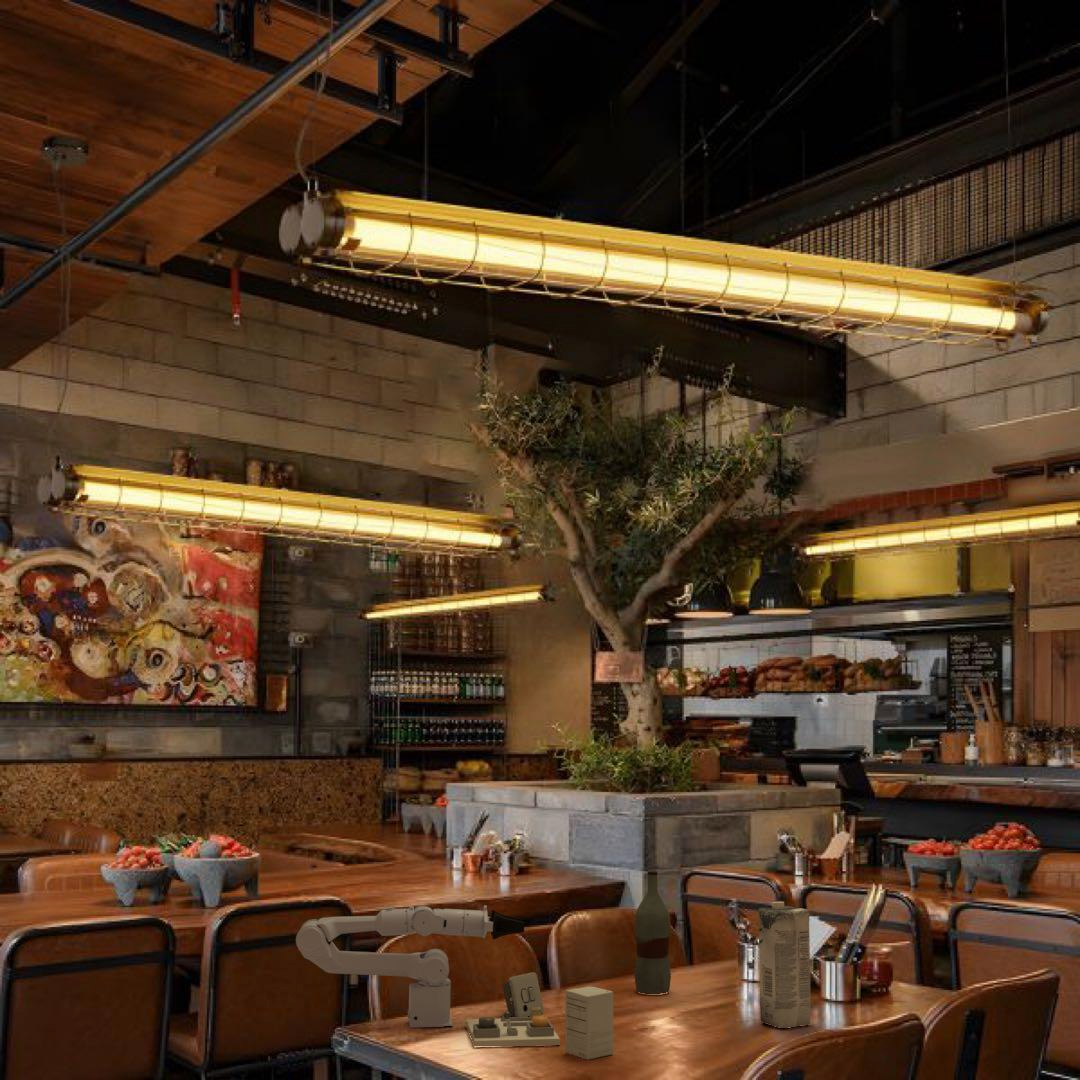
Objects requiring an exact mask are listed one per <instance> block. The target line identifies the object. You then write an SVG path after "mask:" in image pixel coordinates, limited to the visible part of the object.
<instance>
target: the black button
mask: <svg viewBox="0 0 1080 1080" xmlns="http://www.w3.org/2000/svg"><path fill="white" fill-rule="evenodd" d="M478 1019H479V1027H480V1028H494V1027H495V1019H496V1018H495V1017H492V1016H483V1017H479V1018H478Z"/></svg>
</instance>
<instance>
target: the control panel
mask: <svg viewBox="0 0 1080 1080" xmlns="http://www.w3.org/2000/svg"><path fill="white" fill-rule="evenodd" d="M510 1022H511V1028H512V1030H508V1028H507V1023H506V1019H505V1018H504V1017H500V1018H495V1027H494V1028H480V1027H479V1018H469V1019H467V1018H466V1019H465V1027H466V1026H467V1027H466V1029H467V1028H468V1030H467V1032H468V1031H469V1033H470V1035H469V1037H470V1036H471V1038H472V1040H471V1042H472V1041H473V1043H472V1045H473V1044H474V1045H473V1047H474V1046H536V1045H560V1046H561V1039H560V1036H559V1035H558V1034H557V1032H556V1030H555V1028H554V1027H555V1026H553V1024H552V1021H550V1020H548V1026H546V1027H534V1026H532V1022H531V1020H530V1016H529V1017H516V1016H513V1017H510ZM469 1033H468V1034H469ZM471 1038H470V1039H471Z"/></svg>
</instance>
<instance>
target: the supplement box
mask: <svg viewBox="0 0 1080 1080" xmlns="http://www.w3.org/2000/svg"><path fill="white" fill-rule="evenodd" d="M564 999H565V1001H564V1002H565V1004H564V1005H565V1008H564V1010H565V1014H564V1017H565V1020H564V1022H565V1026H564V1028H565V1033H564V1034H565V1036H564V1037H565V1038H564V1039H565V1043H564V1044H565V1045H564V1046H565V1047H564V1049H565V1053H566V1052H567V1053H566V1054H568V1053H570V1054H569V1055H571V1054H573V1055H572V1056H574V1055H575V1056H574V1057H577V1056H578V1057H577V1058H580V1057H581V1059H584V1060H587V1061H588V1060H592V1059H596V1058H600V1057H601V1058H602V1057H606V1056H607V1057H608V1056H611V1055H614V1053H615V1052H614V1049H615V1048H614V1045H615V1044H614V1042H615V1041H614V991H611V990H607V989H604V988H599V987H595V986H593V985H592V986H585V987H581V988H580V987H579V988H573V989H567V990H565V998H564Z"/></svg>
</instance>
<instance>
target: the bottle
mask: <svg viewBox="0 0 1080 1080" xmlns="http://www.w3.org/2000/svg"><path fill="white" fill-rule="evenodd" d="M646 872H647V890H646V893H645V895H644V897H643V899H642V901H641V902H640V904H639V905H638V907H637V908H636V912H635V915H634V931H635V932H634V933H635V946H636V960H635V969H634V985H635V989H636V993H637V992H640V993H645V994H660V993H666V992H668V991H669V992H670V987H671V979H672V975H671V974H672V973H671V964H670V958H669V951H670V937H671V935H670V934H671V928H672V925H671V916H670V913H669V909H668V907H667V906H666V903H665V902H664V900H663V899H662V897H661V895H660V894H659V892H658V885H659V884H658V873H659V871H658V870H657V869H648V870H647V871H646ZM669 992H668V993H669Z"/></svg>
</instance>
